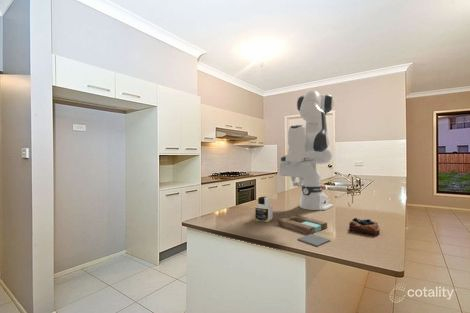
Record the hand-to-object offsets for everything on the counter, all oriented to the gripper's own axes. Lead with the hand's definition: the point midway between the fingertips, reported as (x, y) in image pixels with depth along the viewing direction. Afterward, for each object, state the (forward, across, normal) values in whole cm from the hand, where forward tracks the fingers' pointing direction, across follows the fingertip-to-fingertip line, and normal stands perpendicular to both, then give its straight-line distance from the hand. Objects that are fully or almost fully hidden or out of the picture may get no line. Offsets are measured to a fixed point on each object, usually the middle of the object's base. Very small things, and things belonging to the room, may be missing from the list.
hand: (297, 186), depth 117 cm
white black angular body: (+19, +17, +6) cm, 27 cm away
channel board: (+19, -3, 0) cm, 19 cm away
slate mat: (+19, -17, +12) cm, 28 cm away
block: (+20, -7, 0) cm, 21 cm away
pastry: (+20, -24, -16) cm, 35 cm away
